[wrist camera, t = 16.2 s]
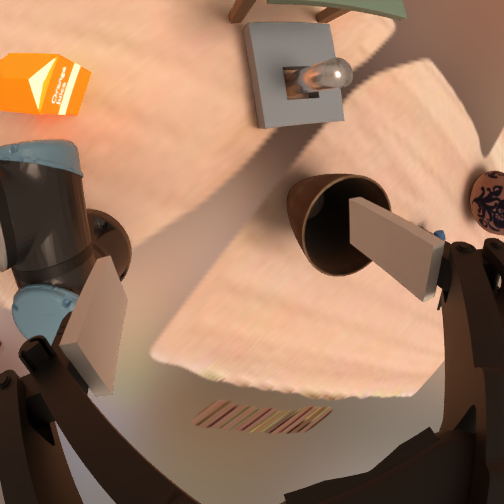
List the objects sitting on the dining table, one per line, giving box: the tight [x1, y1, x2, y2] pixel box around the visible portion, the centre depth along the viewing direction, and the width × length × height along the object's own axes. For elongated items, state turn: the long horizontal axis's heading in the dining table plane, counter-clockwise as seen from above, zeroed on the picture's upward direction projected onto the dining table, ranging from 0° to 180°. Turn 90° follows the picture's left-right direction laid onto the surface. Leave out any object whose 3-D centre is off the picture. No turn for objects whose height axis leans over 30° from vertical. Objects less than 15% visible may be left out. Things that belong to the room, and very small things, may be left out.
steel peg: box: [284, 58, 353, 96], centre depth 36 cm, size 4×4×16 cm
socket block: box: [243, 22, 344, 129], centre depth 41 cm, size 18×14×4 cm
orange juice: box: [0, 53, 91, 115], centre depth 25 cm, size 8×9×20 cm
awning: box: [229, 0, 407, 23], centre depth 29 cm, size 7×18×21 cm, turn 98°
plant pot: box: [287, 174, 391, 276], centre depth 46 cm, size 15×15×16 cm
